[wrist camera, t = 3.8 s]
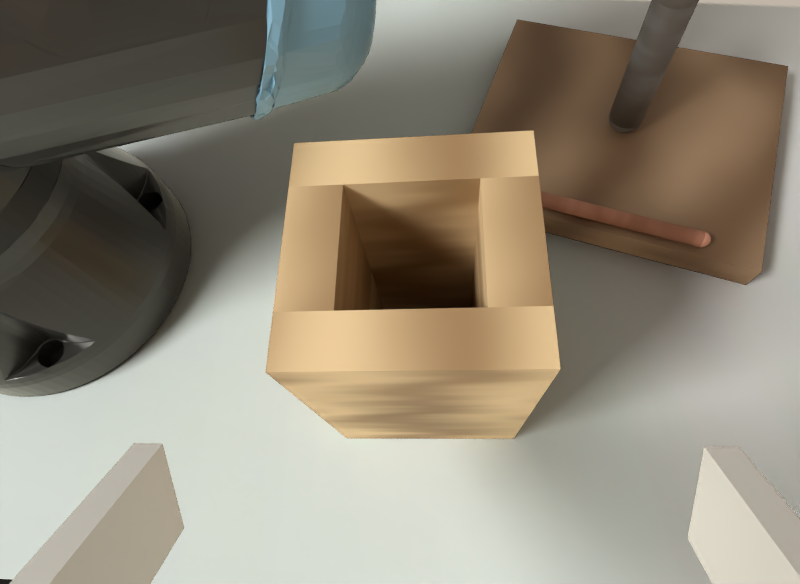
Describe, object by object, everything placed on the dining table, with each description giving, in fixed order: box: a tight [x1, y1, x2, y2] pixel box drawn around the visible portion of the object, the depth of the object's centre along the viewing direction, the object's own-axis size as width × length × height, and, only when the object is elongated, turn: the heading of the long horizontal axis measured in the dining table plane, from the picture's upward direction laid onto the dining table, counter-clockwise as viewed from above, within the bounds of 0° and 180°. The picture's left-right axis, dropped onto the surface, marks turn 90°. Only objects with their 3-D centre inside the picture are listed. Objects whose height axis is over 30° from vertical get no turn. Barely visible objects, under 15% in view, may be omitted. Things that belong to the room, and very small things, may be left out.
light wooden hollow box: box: [266, 130, 561, 439], centre depth 21 cm, size 8×8×12 cm
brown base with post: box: [471, 0, 788, 285], centre depth 26 cm, size 16×14×10 cm
